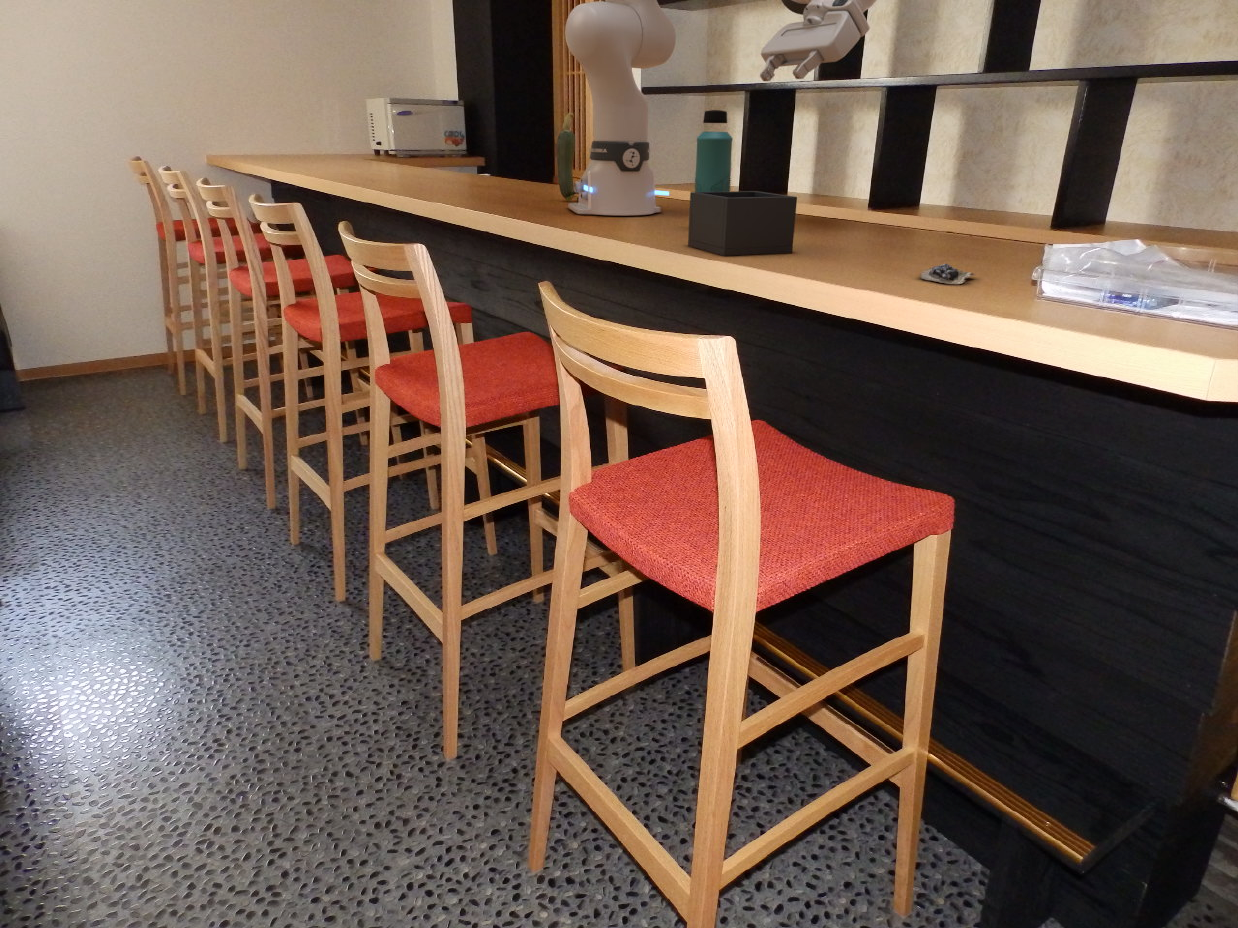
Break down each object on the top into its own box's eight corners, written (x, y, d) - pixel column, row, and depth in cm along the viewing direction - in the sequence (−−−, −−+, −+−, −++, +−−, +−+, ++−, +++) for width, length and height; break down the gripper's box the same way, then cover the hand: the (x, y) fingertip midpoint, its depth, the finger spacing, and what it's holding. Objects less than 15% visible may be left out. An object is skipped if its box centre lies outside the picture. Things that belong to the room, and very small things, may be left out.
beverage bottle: (727, 232, 149) (734, 110, 142) (689, 230, 150) (695, 109, 143) (729, 228, 155) (737, 110, 148) (694, 226, 156) (699, 110, 149)
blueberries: (971, 275, 108) (974, 260, 107) (982, 286, 101) (984, 270, 100) (916, 273, 109) (918, 258, 109) (923, 283, 102) (925, 267, 101)
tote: (687, 245, 131) (690, 192, 128) (752, 243, 135) (755, 191, 132) (724, 256, 121) (727, 198, 118) (792, 252, 125) (797, 197, 122)
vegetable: (555, 202, 202) (554, 111, 194) (559, 200, 206) (558, 112, 198) (573, 202, 201) (573, 112, 194) (577, 201, 205) (577, 112, 198)
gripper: (783, 10, 156) (736, 66, 155) (860, -4, 139) (807, 59, 139) (800, 38, 160) (754, 93, 159) (876, 28, 143) (826, 89, 142)
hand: (779, 77), depth 149 cm, fingers open, 8 cm apart
